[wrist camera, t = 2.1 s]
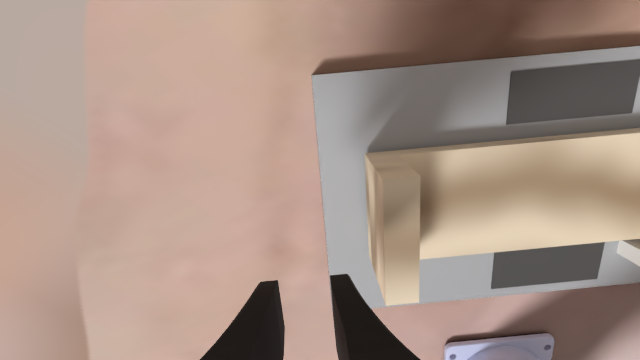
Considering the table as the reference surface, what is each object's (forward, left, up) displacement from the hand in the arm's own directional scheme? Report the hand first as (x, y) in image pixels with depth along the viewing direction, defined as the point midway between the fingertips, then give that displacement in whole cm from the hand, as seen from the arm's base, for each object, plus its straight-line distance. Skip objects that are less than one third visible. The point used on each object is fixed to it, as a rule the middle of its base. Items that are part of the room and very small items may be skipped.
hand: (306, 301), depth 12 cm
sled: (0, -14, -8) cm, 16 cm away
